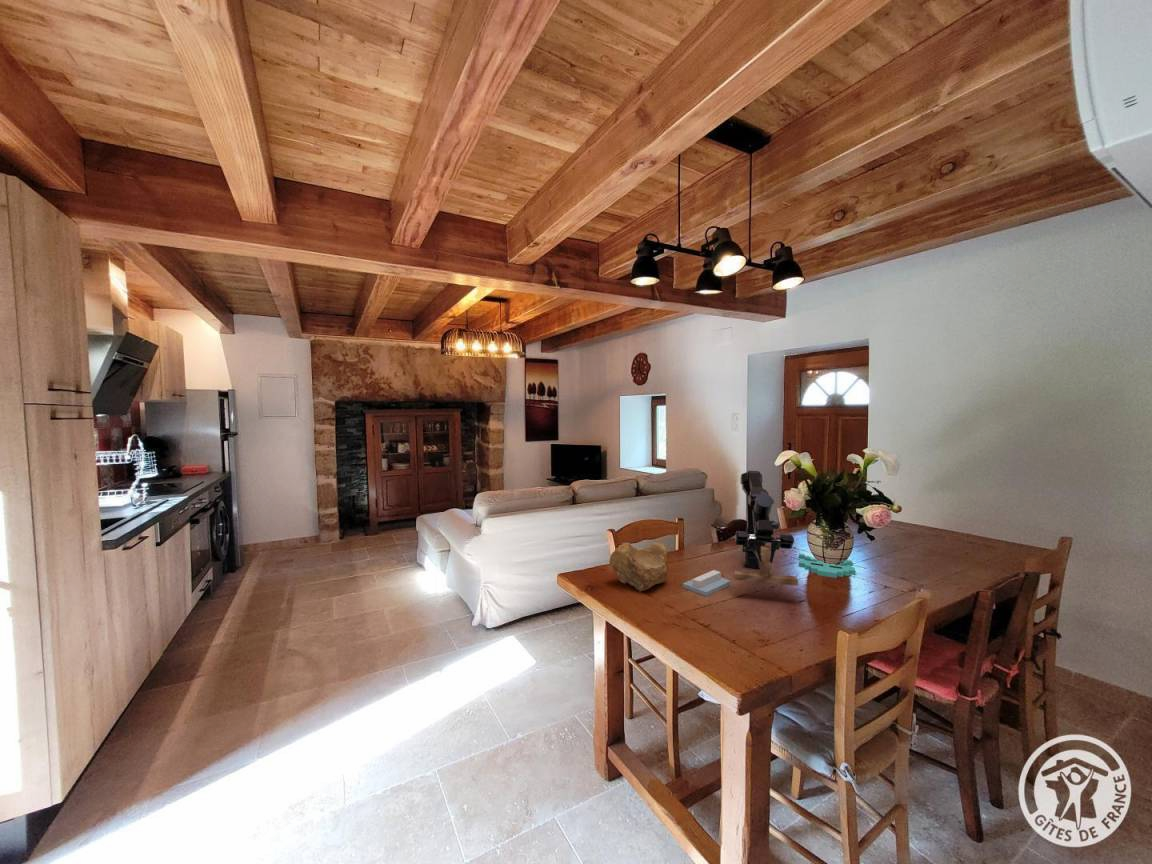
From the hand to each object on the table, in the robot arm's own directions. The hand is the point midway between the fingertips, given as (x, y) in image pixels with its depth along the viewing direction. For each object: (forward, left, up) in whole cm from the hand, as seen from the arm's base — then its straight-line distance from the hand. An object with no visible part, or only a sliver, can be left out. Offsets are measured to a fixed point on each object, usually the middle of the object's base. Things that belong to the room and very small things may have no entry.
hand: (765, 562), depth 146 cm
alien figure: (-44, +22, -14) cm, 51 cm away
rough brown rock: (+5, -42, -14) cm, 44 cm away
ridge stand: (-4, -20, -13) cm, 24 cm away
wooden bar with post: (-1, 0, -7) cm, 7 cm away
